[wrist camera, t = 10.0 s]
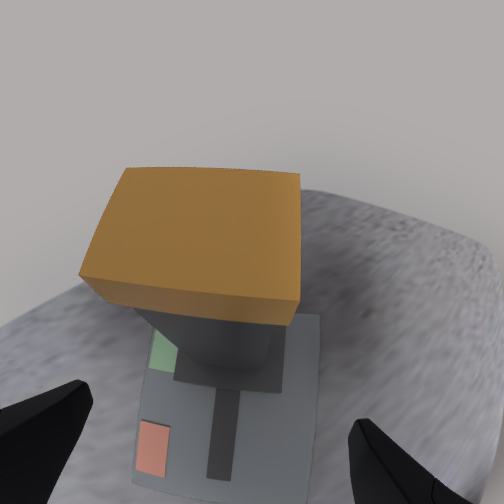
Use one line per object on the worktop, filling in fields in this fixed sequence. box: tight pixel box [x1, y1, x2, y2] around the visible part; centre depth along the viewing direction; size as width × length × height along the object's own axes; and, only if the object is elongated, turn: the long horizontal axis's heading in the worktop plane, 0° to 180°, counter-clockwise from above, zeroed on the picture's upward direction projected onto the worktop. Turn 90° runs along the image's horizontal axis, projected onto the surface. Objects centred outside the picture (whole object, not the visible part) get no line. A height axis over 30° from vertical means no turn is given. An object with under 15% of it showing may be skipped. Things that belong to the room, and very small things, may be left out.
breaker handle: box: [79, 167, 301, 394], centre depth 9 cm, size 4×5×11 cm
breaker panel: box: [132, 313, 320, 504], centre depth 13 cm, size 11×9×2 cm
